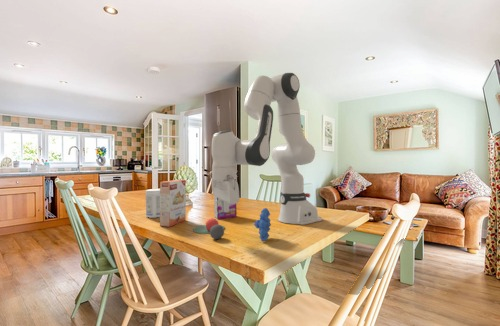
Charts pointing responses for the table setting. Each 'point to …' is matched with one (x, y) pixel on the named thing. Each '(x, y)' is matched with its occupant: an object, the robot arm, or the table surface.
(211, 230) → the ball
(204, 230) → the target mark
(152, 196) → the supplement tub
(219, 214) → the candy bar box
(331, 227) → the table surface
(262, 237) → the grapes
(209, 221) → the ball
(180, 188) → the cracker box
